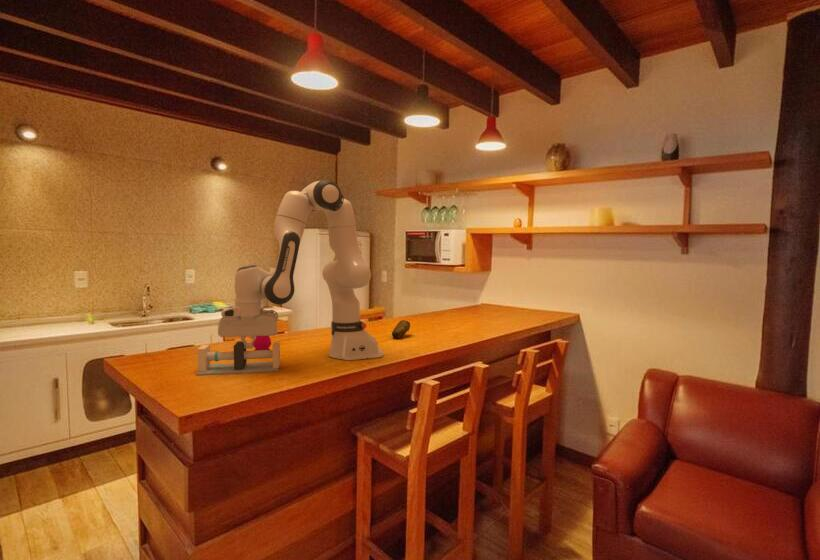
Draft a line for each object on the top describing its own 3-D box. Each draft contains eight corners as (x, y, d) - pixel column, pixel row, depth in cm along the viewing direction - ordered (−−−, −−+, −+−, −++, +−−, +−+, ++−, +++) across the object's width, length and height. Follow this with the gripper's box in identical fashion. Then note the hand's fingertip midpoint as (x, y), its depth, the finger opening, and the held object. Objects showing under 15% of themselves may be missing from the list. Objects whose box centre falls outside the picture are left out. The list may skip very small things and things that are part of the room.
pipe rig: (280, 362, 168) (280, 340, 167) (277, 371, 156) (277, 347, 155) (204, 366, 162) (204, 343, 161) (196, 375, 150) (195, 350, 150)
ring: (246, 362, 163) (246, 341, 163) (243, 368, 155) (242, 345, 155) (237, 363, 163) (237, 341, 162) (234, 369, 155) (233, 346, 154)
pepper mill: (265, 356, 177) (264, 307, 176) (249, 355, 179) (248, 306, 177) (274, 352, 184) (273, 305, 183) (258, 351, 186) (258, 304, 184)
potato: (385, 337, 217) (385, 321, 216) (403, 334, 226) (403, 318, 225) (396, 340, 211) (396, 323, 210) (415, 336, 220) (415, 320, 219)
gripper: (278, 308, 163) (279, 345, 164) (220, 309, 159) (220, 347, 160) (277, 311, 157) (277, 349, 158) (216, 312, 153) (217, 351, 154)
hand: (248, 348), depth 159 cm, fingers closed
